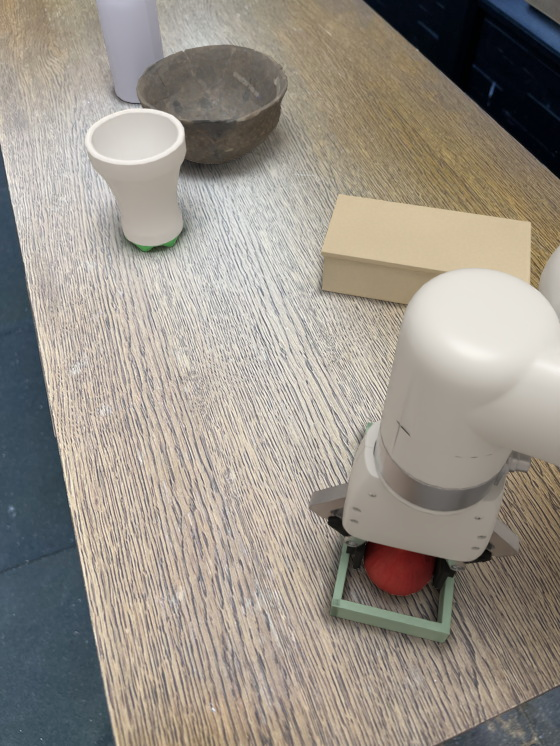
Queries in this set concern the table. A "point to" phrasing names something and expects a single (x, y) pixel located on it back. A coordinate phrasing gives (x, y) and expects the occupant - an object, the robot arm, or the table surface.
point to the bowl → (217, 98)
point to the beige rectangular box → (414, 247)
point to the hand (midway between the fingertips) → (398, 561)
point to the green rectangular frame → (388, 618)
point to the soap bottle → (130, 41)
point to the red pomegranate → (397, 568)
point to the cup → (141, 171)
